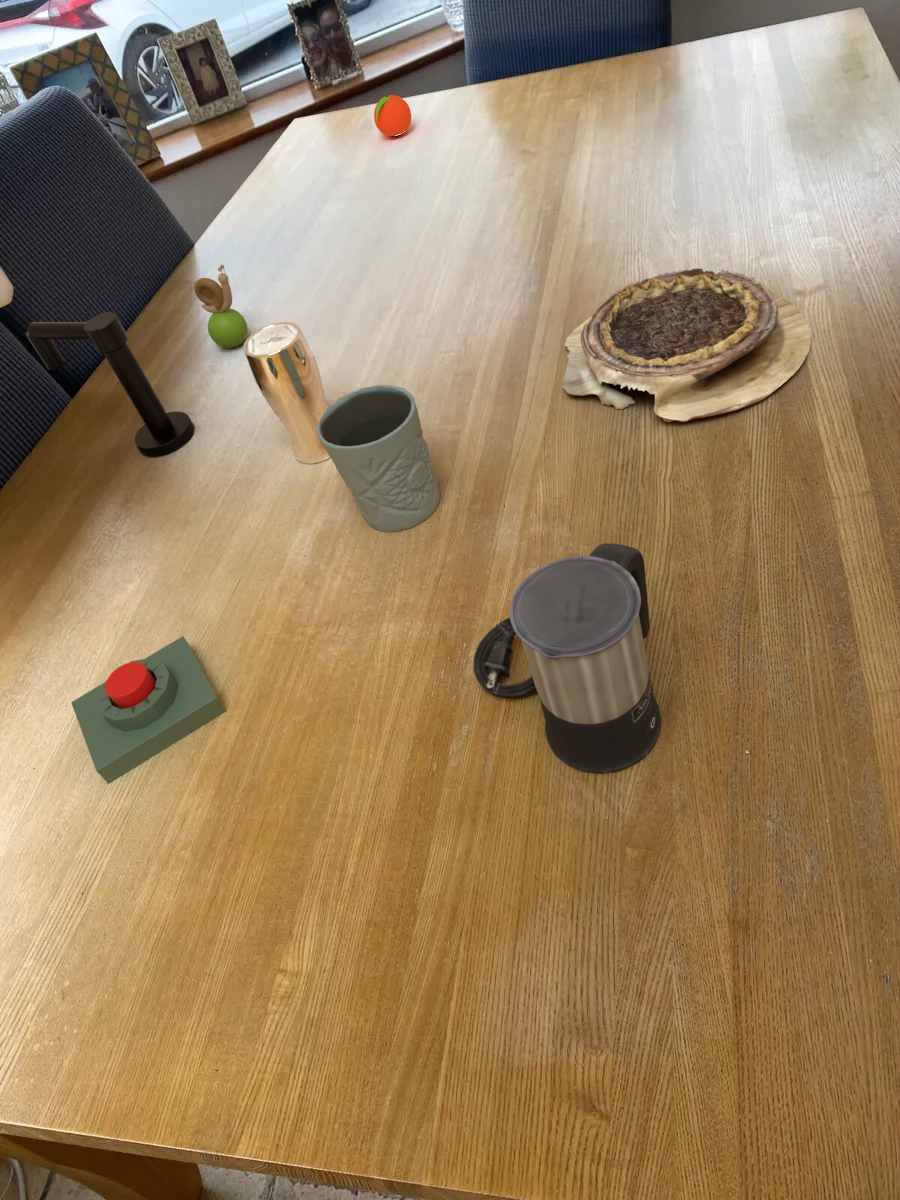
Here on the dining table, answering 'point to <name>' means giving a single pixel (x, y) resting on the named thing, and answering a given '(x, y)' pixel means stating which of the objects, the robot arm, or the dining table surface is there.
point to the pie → (688, 344)
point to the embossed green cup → (382, 456)
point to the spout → (76, 336)
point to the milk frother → (582, 657)
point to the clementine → (392, 115)
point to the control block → (148, 712)
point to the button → (129, 684)
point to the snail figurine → (221, 311)
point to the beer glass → (290, 385)
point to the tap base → (150, 408)
